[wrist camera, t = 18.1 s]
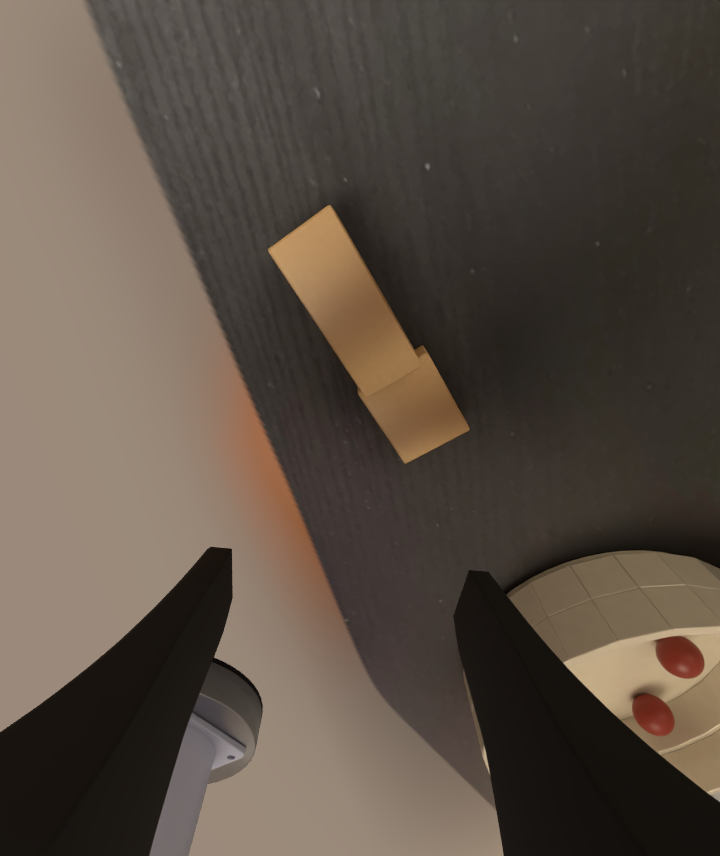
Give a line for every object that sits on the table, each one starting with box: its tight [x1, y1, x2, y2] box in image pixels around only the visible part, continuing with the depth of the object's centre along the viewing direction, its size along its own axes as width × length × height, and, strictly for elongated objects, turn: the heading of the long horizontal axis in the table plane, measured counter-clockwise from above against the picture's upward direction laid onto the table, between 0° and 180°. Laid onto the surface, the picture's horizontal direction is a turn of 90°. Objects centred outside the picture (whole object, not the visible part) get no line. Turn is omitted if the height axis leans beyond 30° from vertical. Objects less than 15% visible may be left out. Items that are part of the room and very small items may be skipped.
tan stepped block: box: [268, 205, 470, 463], centre depth 15 cm, size 10×3×2 cm, turn 32°
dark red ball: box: [632, 694, 675, 736], centre depth 25 cm, size 2×2×2 cm
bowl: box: [463, 550, 720, 795], centre depth 23 cm, size 17×17×5 cm
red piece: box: [655, 636, 705, 679], centre depth 23 cm, size 2×2×2 cm
